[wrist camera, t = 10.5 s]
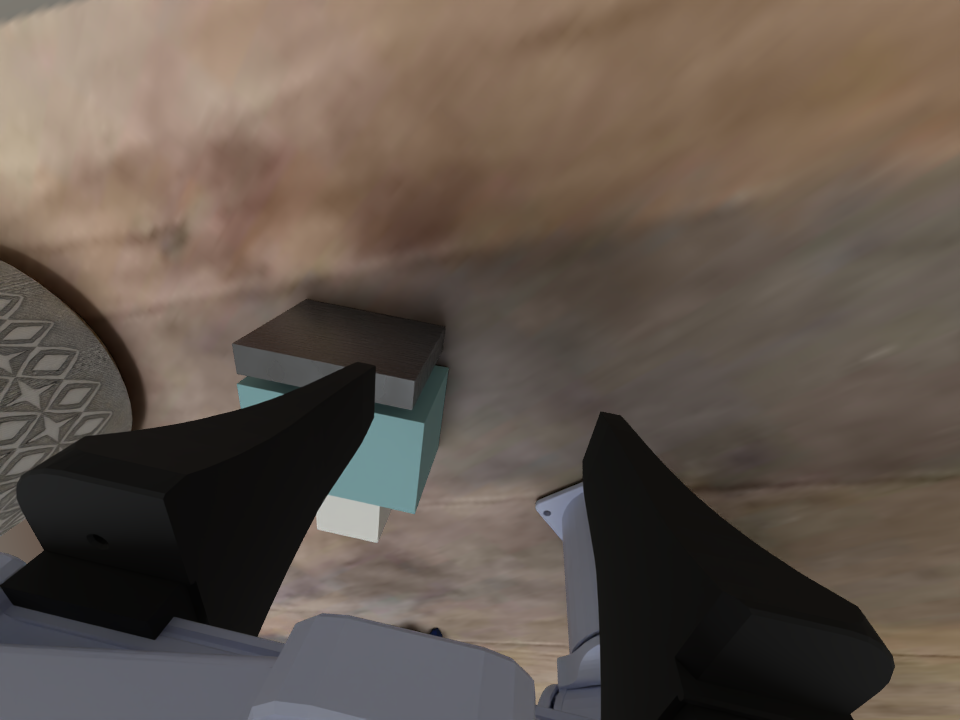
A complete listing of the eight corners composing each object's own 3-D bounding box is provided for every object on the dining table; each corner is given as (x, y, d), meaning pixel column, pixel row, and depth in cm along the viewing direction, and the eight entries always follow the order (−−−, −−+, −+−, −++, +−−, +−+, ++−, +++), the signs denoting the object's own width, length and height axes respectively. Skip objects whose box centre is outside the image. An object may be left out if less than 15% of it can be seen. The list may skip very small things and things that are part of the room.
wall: (442, 350, 22) (412, 410, 17) (307, 323, 23) (236, 373, 17) (445, 326, 22) (414, 381, 16) (306, 299, 22) (231, 343, 17)
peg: (397, 495, 28) (377, 542, 25) (344, 483, 29) (317, 529, 25) (407, 378, 24) (384, 416, 20) (343, 365, 24) (310, 400, 20)
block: (438, 447, 25) (414, 514, 21) (305, 419, 26) (252, 477, 21) (448, 367, 23) (424, 423, 18) (299, 337, 23) (236, 383, 18)
